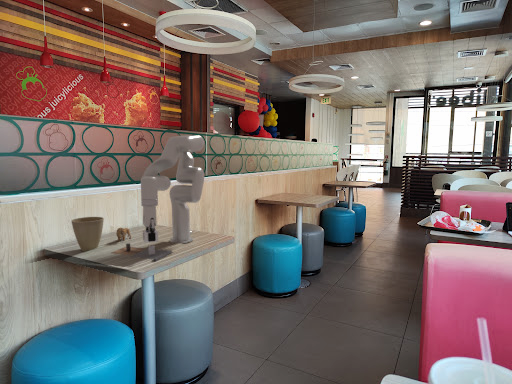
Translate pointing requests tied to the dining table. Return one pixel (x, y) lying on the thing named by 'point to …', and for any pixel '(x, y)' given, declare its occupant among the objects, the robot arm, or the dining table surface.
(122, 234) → the lion figurine
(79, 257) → the dining table surface
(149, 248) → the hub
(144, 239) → the white hollow box
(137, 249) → the stand
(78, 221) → the plant pot
